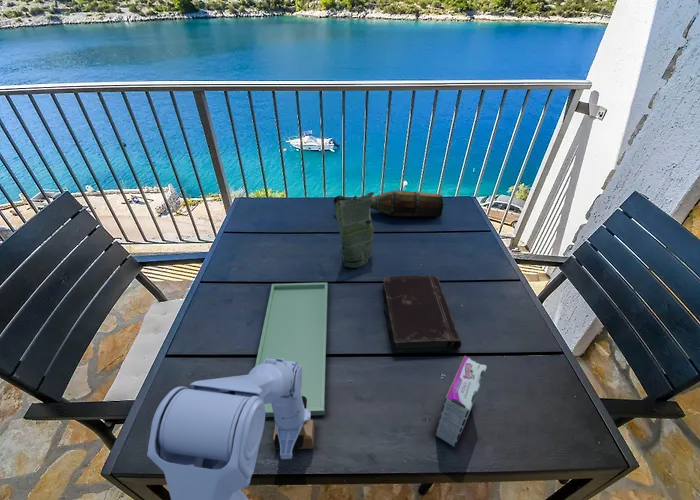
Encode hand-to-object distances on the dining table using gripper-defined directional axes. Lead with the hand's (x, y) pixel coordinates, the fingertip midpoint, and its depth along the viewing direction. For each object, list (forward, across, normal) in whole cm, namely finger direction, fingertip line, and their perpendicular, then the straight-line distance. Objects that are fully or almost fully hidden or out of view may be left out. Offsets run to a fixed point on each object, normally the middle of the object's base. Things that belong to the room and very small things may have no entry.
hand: (294, 436), depth 75 cm
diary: (+2, +34, -32) cm, 46 cm away
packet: (+1, 0, 0) cm, 1 cm away
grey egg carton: (+2, +3, -35) cm, 35 cm away
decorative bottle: (+2, +90, -28) cm, 94 cm away
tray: (+1, +26, +3) cm, 26 cm away
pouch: (+2, +61, -15) cm, 63 cm away
